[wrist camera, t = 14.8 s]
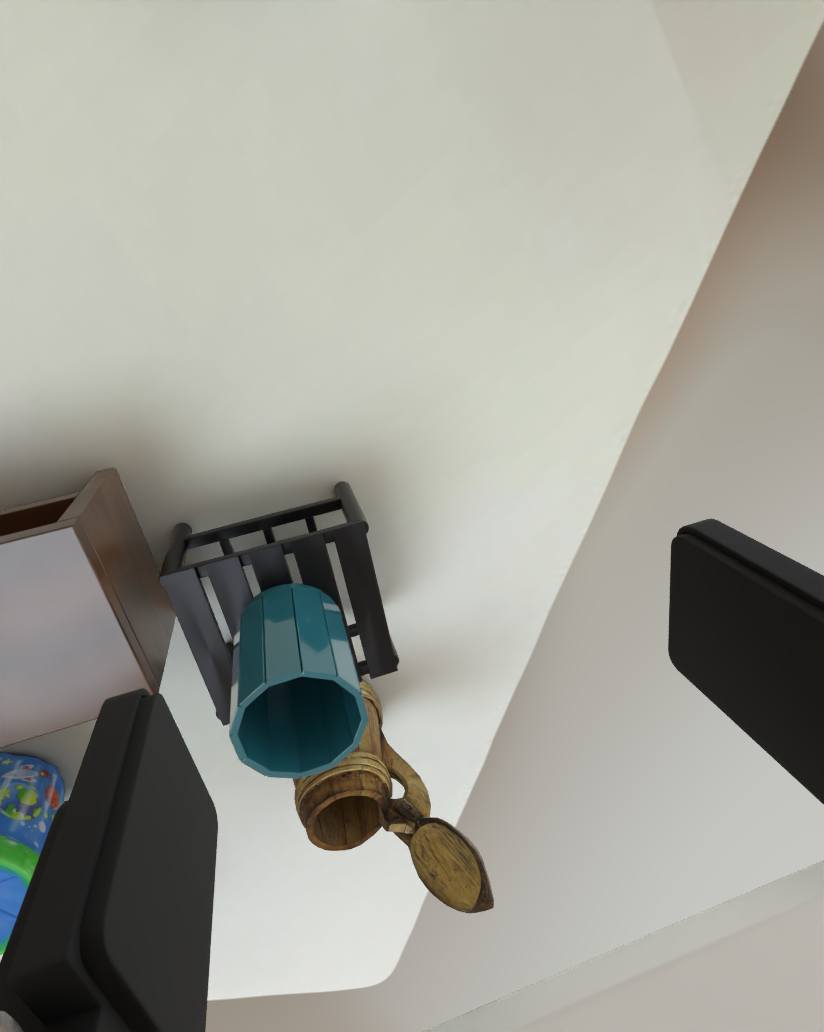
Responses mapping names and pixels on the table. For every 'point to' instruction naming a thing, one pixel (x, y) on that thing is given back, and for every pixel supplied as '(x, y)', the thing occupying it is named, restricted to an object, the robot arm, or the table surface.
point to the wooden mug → (391, 816)
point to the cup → (294, 684)
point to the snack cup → (23, 828)
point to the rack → (270, 573)
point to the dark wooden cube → (76, 609)
